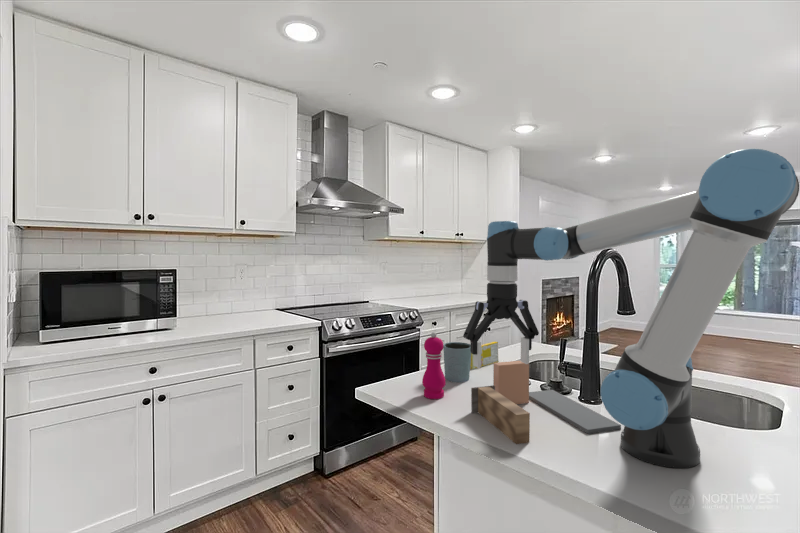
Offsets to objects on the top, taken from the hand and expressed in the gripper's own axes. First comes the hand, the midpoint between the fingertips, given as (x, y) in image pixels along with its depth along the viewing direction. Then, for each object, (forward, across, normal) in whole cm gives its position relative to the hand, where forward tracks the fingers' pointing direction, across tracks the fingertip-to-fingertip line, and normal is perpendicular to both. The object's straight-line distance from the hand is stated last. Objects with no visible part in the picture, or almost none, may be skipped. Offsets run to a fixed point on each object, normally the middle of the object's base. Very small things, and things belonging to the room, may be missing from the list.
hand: (501, 364), depth 107 cm
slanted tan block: (+16, -11, -14) cm, 24 cm away
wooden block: (+16, 0, 0) cm, 16 cm away
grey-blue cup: (+16, -5, -40) cm, 43 cm away
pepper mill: (+16, +9, -26) cm, 32 cm away
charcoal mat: (+16, -23, -4) cm, 28 cm away
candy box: (+16, -22, -53) cm, 60 cm away
